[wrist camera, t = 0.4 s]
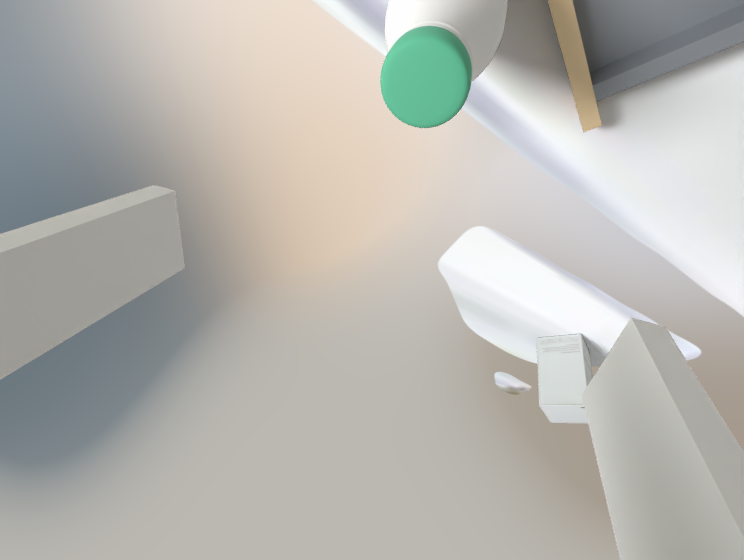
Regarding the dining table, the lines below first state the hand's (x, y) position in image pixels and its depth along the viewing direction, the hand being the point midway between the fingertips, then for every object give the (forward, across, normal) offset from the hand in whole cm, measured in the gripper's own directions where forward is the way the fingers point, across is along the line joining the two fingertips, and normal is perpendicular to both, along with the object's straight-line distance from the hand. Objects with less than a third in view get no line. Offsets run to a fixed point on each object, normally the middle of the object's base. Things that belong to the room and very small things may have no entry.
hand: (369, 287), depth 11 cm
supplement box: (+52, +25, -34) cm, 67 cm away
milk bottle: (+31, -4, +12) cm, 33 cm away
